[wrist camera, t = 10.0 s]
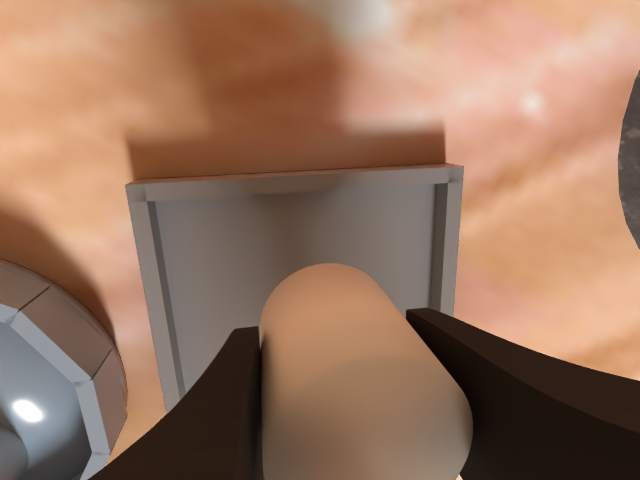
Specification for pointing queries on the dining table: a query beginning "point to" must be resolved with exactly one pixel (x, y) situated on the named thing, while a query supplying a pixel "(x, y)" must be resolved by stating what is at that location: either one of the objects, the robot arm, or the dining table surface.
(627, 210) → the tankard
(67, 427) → the bowl
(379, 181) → the parts tray
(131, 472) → the robot arm
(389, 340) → the beige rounded cylinder
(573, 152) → the dining table surface
